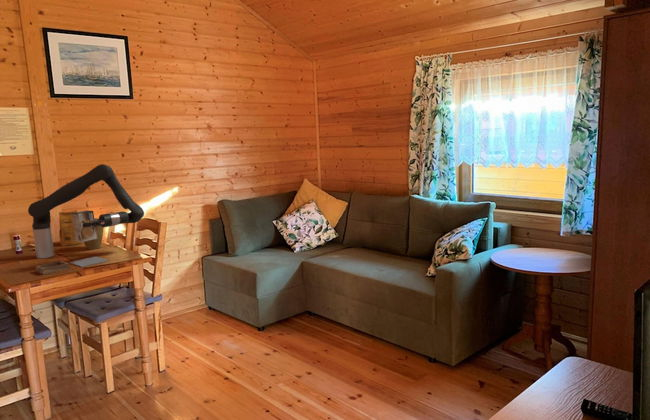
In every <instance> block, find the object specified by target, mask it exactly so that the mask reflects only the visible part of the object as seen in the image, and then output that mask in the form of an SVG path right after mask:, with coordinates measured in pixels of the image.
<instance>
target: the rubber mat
mask: <svg viewBox="0 0 650 420" xmlns="http://www.w3.org/2000/svg"><path fill="white" fill-rule="evenodd" d="M105 262H109V259H106V258H103V257H99V256H91V257H87V258H82V259H77V260H74V261H69V262H68V263H69V265H73V266H76V267H79V268H85V267H88V266H93V265H98V264H101V263H105Z"/></svg>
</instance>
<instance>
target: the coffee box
mask: <svg viewBox="0 0 650 420" xmlns="http://www.w3.org/2000/svg"><path fill="white" fill-rule="evenodd" d="M72 218H73V225H74V231H75V238H76V241H77V242H81V243H84V242H85V241H89V240H93V239H97V234H96V227H94V226H93V227H91V226H90V227H83V223H89V222H92V221H93V220H94V218H95V214H94V210H89V209H88V210H83V211H77V212H75V213H72Z"/></svg>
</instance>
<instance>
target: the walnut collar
mask: <svg viewBox="0 0 650 420" xmlns="http://www.w3.org/2000/svg"><path fill="white" fill-rule="evenodd" d="M70 269H71V267H70V263H69V262H66V261H63V260H59V261H53V262H49V263H44V264H39V265H35V272H36V273H38V274H41V275H49V274H54V273H57V272H61V271H66V270H67V271H68V270H70Z"/></svg>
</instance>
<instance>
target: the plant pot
mask: <svg viewBox="0 0 650 420" xmlns="http://www.w3.org/2000/svg"><path fill="white" fill-rule="evenodd" d="M104 228H105V227H101V226H96V234H97V239H93V240H89V241H85V242H83V243H84V246H85V247H86V249H87V250H91V251H92V250H98V249H100V248H101V246H102V243H103V238H104Z"/></svg>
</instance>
